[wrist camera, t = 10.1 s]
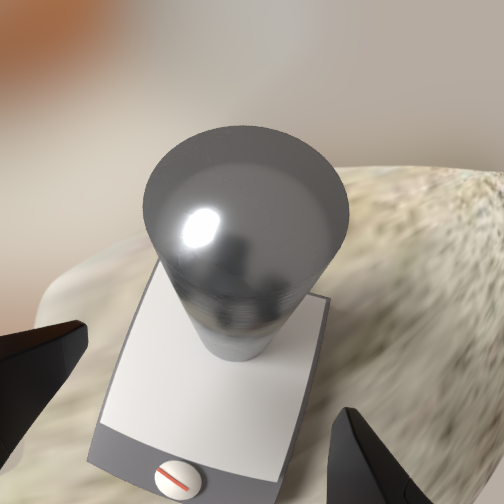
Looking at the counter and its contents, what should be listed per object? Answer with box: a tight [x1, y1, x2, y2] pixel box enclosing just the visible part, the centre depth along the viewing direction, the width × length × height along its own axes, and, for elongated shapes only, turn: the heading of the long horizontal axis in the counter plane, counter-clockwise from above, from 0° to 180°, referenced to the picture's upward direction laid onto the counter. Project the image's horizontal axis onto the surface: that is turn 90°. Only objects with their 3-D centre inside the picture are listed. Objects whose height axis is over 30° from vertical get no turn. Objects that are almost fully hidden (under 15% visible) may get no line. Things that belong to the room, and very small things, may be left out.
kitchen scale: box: [87, 258, 331, 504], centre depth 17 cm, size 16×12×4 cm
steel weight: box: [143, 126, 349, 362], centre depth 12 cm, size 4×4×12 cm
